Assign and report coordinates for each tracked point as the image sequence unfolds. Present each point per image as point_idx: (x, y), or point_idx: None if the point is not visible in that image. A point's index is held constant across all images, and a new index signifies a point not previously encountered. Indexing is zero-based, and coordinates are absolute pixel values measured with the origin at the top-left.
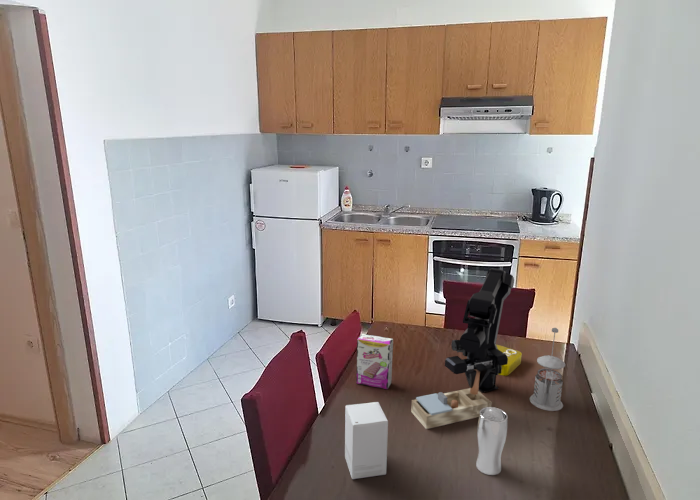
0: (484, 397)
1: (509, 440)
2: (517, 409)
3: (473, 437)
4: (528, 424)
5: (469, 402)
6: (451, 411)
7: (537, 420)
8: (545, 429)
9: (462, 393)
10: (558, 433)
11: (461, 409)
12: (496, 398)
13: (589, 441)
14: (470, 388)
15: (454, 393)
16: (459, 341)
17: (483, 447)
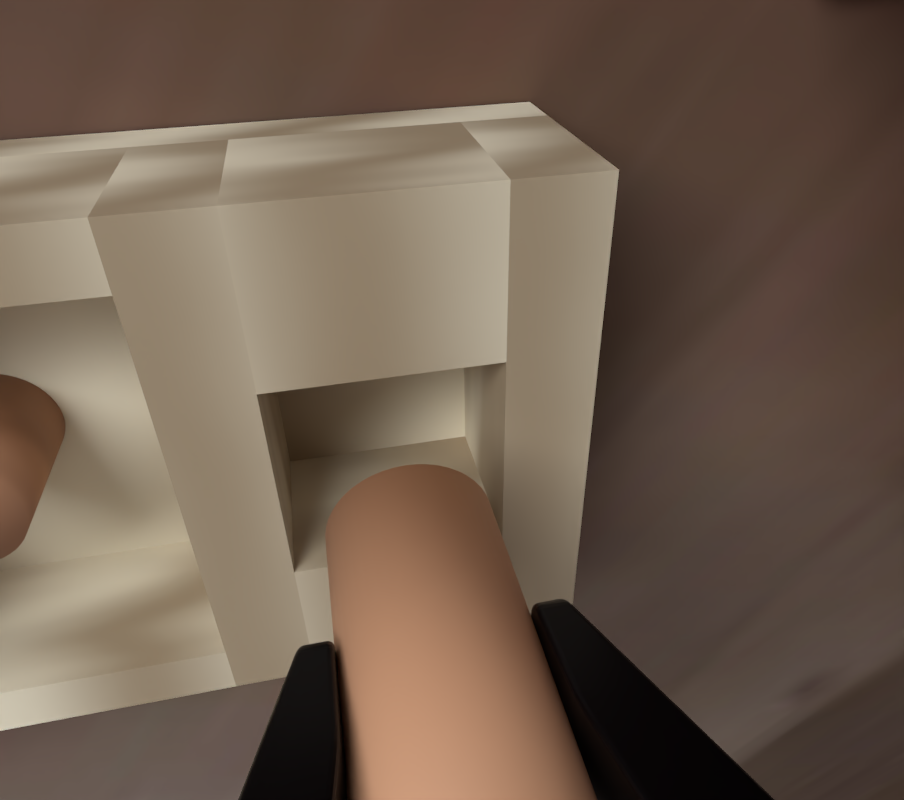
0: (554, 523)
1: None
2: (848, 456)
3: (112, 760)
4: (723, 644)
5: (219, 610)
6: None
7: (837, 608)
8: (780, 692)
9: (210, 352)
10: (813, 724)
11: (4, 721)
12: (856, 198)
13: (890, 773)
14: (332, 601)
15: (3, 304)
16: None
17: None
